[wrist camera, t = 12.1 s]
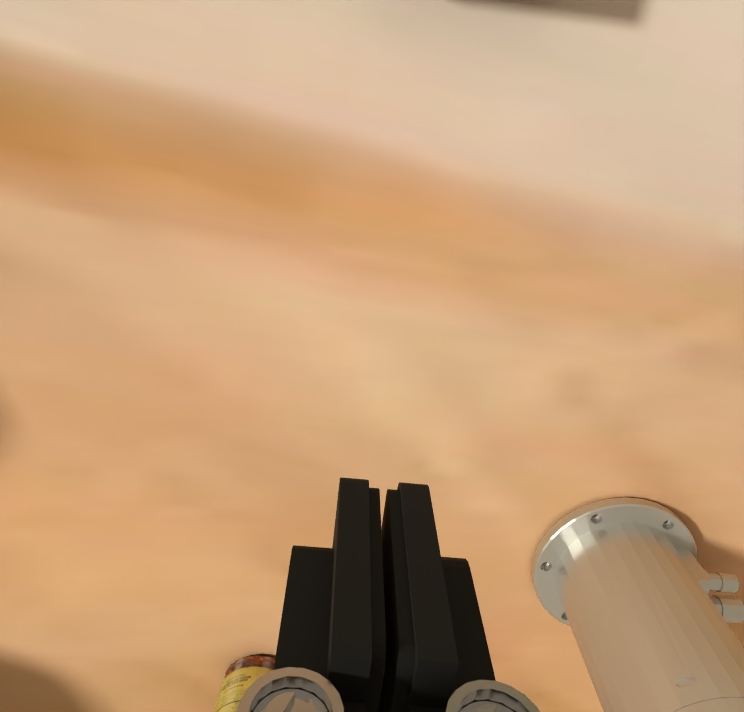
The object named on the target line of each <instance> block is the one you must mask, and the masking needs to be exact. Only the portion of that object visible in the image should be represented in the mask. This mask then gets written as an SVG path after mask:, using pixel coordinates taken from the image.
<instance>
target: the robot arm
mask: <svg viewBox="0 0 744 712" xmlns="http://www.w3.org/2000/svg"><path fill="white" fill-rule="evenodd" d="M531 574H532V581H533V585H534V588H535V591H536V594H537V597H538V599H539V600H540V602H541V604H542V605H543V607H544V608H545V609H546V610H547V611H548V612H549V613H550V614H551V615H552V616H553V617H554V618H556V619H557V620H559V621H560V622H562V623H564V624H567V625H569V626H571V629H572V632H573V634H574V637H575V639H576V642H577V644H578V647H579V649H580V652H581V655H582V657H583V660H584V662H585V665H586V667H587V670H588V673H589V675H590V678H591V680H592V683H593V685H594V688H595V690H596V693H597V696H598V698H599V701H600V703H601V706H602V708H603V711H604V712H744V647H743V645H742V644H741V642H740V641H739V640H738V638H737V637H736V635H735V634H734V632H733V631H732V629H731V628H730V626H729V625H728V624H727V623H742V622H743V621H744V604H743V602H742V600H741V599H740V598H738V597H732V596H719V595H712V596H708V593H709V590H716V591H717V592H730V593H736V592H737V591H738V589H739V580H738V578H737V576H736V575H734V574H730V573H707V571H706V570H705V569H703V568H702V567H701V566H700V564H699V563H698V561H697V548H696V544H695V541H694V538H693V536H692V535H691V533H690V531H689V530H688V528H687V527H686V526H685V524H684V523H683V522H682V521H681V519H680V518H679V517H678V516H677V515H676V514H674V513H673V512H672V511H671V510H669V509H668V508H666V507H664V506H662V505H660V504H658V503H656V502H652V501H648V500H644V499H639V498H628V497H623V498H610V499H605V500H601V501H597V502H593V503H590V504H588V505H585V506H583V507H580V508H578V509H576V510H574V511H573V512H571V513H569V514H567V515H566V516H564V517H563V518H562V519H560V520H559V521H558V522H557V523H556V524H554V525H553V526H552V527H551V528H550V530H549V531H548V532H547V533H546V534H545V535H544V536H543V538H542V540H541V541H540V543H539V545H538V547H537V548H536V551H535V554H534V557H533V560H532V570H531ZM236 712H540V711H539V710H538V708H537V706H536V705H535V704H534V703H533V702H532V701H531V700H530V699H529V698H528V697H526V696H525V695H524V694H523V693H521V692H520V691H518V690H516V689H515V688H513V687H512V686H509V685H507V684H504V683H501V682H498V681H496V680H495V676H494V672H493V667H492V663H491V658H490V654H489V650H488V645H487V641H486V636H485V632H484V628H483V623H482V619H481V615H480V610H479V606H478V601H477V597H476V593H475V588H474V584H473V579H472V575H471V571H470V567H469V564H468V561H467V560H466V559H462V558H449V557H441V555H440V549H439V543H438V538H437V532H436V526H435V520H434V514H433V508H432V502H431V497H430V491H429V486H428V485H423V484H411V483H399V485H398V489H397V490H390V489H388V490H387V494H386V501H385V508H384V515H383V522H382V529H381V514H380V492H379V489H378V488H369V480H363V479H351V478H340V483H339V492H338V501H337V511H336V520H335V529H334V539H333V548H319V547H306V546H293V547H292V553H291V559H290V566H289V573H288V579H287V586H286V592H285V599H284V606H283V612H282V619H281V625H280V632H279V639H278V645H277V652H276V658H275V665H274V670H272V671H271V672H269V673H267V674H265V675H263V676H261V677H259V678H258V679H257V680H256V681H255V682H254V683H253V684H251V685H250V686H249V687H248V688H247V690H246V692H245V694H244V695H243V697H242V699H241V701H240V703H239V705H238V708H237V711H236Z"/></svg>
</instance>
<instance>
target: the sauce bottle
mask: <svg viewBox="0 0 744 712" xmlns="http://www.w3.org/2000/svg"><path fill="white" fill-rule="evenodd" d="M274 665H275V658H274V657H266V656H260V655H254V656H247V657H244V658H241V659H240V660H237V661H236V662H235V663H233V664H232V665H231V666H230V667H229V668H228V670H227V671H226V676H225V679H224V681H223V683H222V685H221V687H220V691H219V695H218V699H217V703H216V707H215V711H214V712H236V711H237V708H238V705H239V703H240V701H241V699H242V697H243V695H244V694H245V692H246V690H247V688H248V687H249V686H250V685H251V684H253V683H254V682H255V681H256V680H257V679H258V678H259V677H261V676H263V675H265V674H267V673H269V672H271V671H272V670H274Z"/></svg>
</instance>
